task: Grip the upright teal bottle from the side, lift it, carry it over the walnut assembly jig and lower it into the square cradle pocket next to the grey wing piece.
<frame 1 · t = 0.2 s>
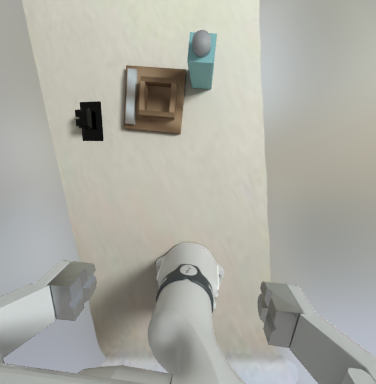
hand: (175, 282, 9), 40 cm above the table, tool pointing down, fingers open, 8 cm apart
teal bottle: (202, 77, 44), on the table
jig: (154, 101, 46), on the table
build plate: (93, 121, 49), on the table
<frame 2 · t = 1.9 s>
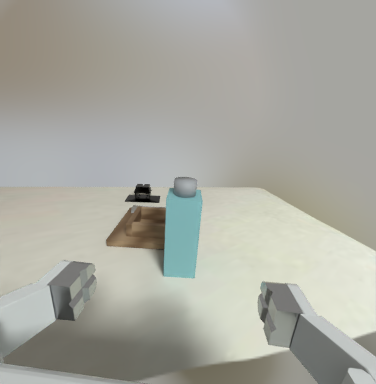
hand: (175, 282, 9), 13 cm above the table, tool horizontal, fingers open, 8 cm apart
teal bottle: (179, 266, 29), on the table
jig: (153, 228, 40), on the table
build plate: (143, 200, 56), on the table
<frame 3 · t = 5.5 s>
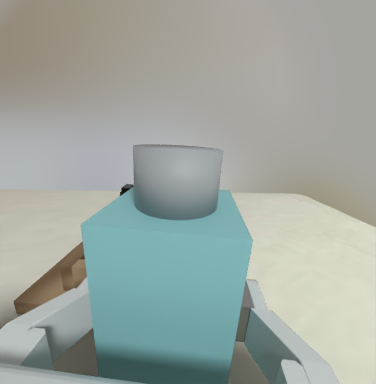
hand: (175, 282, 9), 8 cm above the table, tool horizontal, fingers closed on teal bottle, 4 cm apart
jig: (133, 264, 21), on the table
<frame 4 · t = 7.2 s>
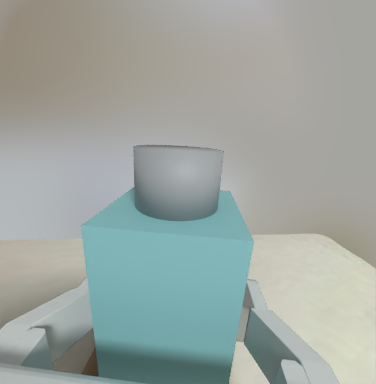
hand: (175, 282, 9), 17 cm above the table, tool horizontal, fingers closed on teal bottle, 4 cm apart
when the fingers open (10 cm above the table, at t = 9.1 s): teal bottle drops 2 cm, resting on jig.
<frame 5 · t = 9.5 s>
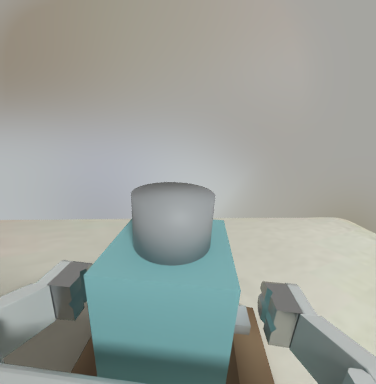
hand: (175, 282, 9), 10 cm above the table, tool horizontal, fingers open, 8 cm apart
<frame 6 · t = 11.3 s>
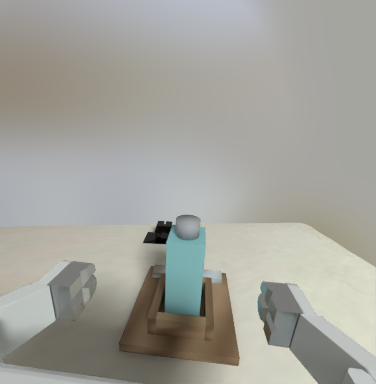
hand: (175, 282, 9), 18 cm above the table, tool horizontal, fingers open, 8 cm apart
teal bottle: (183, 309, 27), point 1 cm above the table, touching jig
jig: (183, 306, 29), on the table
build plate: (164, 240, 48), on the table
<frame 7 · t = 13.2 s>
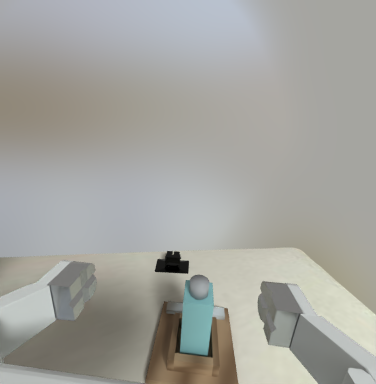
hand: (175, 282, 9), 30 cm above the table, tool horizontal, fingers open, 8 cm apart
teal bottle: (193, 346, 33), point 1 cm above the table, touching jig
jig: (193, 342, 35), on the table
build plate: (172, 268, 55), on the table
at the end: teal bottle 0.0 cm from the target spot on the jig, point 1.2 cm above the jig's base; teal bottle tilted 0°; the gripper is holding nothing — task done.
